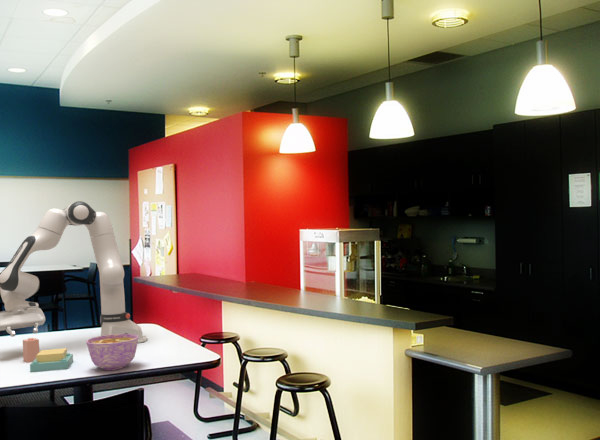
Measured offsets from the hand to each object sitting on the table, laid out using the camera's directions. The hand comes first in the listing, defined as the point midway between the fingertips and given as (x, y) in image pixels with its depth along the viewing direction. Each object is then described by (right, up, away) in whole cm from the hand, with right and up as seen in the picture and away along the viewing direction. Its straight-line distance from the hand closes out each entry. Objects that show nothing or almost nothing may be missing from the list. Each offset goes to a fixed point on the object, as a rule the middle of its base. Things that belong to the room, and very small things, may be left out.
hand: (24, 334), depth 261 cm
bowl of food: (+46, -9, -23) cm, 53 cm away
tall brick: (+5, -10, -5) cm, 13 cm away
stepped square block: (+19, -10, -17) cm, 28 cm away
